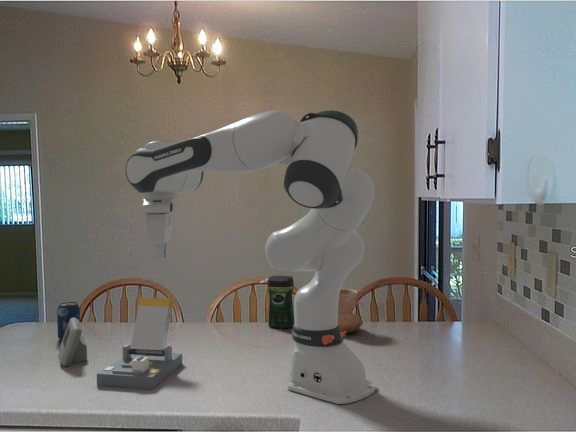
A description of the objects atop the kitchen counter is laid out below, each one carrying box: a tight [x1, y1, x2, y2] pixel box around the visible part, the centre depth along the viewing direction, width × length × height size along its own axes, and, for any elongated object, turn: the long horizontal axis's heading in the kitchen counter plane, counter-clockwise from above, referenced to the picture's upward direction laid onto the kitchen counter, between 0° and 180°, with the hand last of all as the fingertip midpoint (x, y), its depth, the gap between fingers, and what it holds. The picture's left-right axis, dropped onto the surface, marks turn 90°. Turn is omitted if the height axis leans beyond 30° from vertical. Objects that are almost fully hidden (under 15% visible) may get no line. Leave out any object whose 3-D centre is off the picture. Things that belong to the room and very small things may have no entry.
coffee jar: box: [266, 275, 295, 329], centre depth 170 cm, size 10×8×19 cm
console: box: [96, 343, 183, 390], centre depth 124 cm, size 18×15×6 cm
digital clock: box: [58, 318, 88, 367], centre depth 137 cm, size 16×9×11 cm, turn 17°
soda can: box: [56, 301, 81, 342], centre depth 157 cm, size 7×7×12 cm
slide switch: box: [132, 355, 149, 373], centre depth 118 cm, size 3×3×4 cm
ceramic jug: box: [338, 288, 365, 335], centre depth 163 cm, size 18×14×14 cm
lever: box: [129, 296, 175, 356], centre depth 130 cm, size 3×10×16 cm, turn 79°
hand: (161, 259), depth 119 cm, fingers open, 4 cm apart
